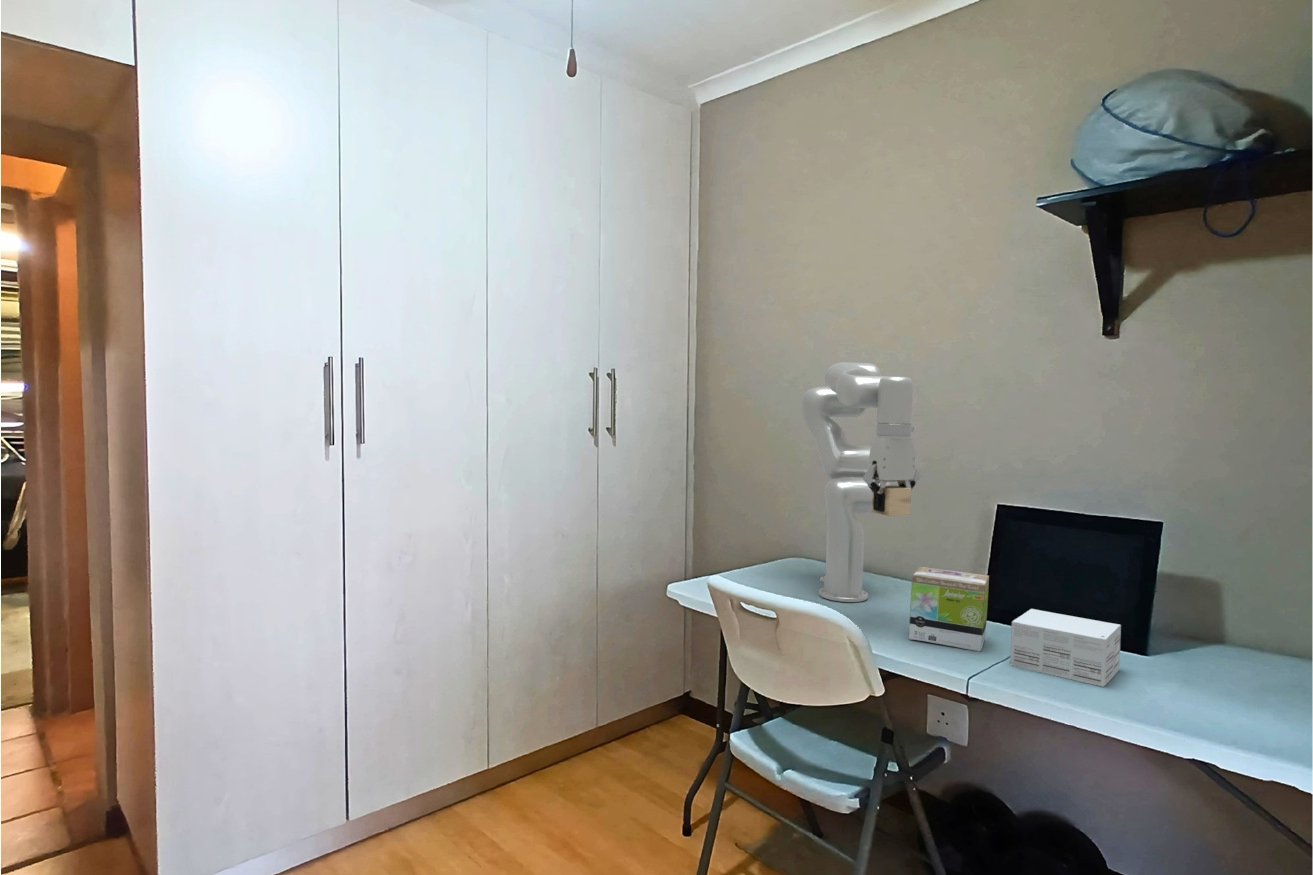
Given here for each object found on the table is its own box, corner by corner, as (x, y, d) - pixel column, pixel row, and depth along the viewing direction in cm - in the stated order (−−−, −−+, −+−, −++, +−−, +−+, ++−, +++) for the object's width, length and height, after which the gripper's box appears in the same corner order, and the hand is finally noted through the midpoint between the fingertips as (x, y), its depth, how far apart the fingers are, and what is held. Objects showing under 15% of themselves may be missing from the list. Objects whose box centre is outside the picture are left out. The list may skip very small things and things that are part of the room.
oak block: (871, 511, 177) (872, 485, 176) (892, 510, 179) (893, 485, 179) (888, 516, 171) (889, 489, 171) (910, 514, 173) (911, 488, 173)
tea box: (907, 640, 168) (910, 574, 167) (915, 628, 176) (918, 565, 176) (982, 653, 161) (985, 583, 160) (986, 639, 169) (989, 573, 169)
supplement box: (1120, 670, 152) (1122, 623, 152) (1104, 688, 142) (1107, 639, 142) (1029, 650, 163) (1031, 606, 163) (1008, 665, 154) (1011, 619, 153)
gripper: (912, 430, 181) (909, 506, 182) (852, 430, 174) (849, 509, 175) (935, 432, 174) (932, 511, 175) (873, 432, 167) (870, 514, 168)
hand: (890, 509), depth 175 cm, fingers closed on oak block, 6 cm apart
